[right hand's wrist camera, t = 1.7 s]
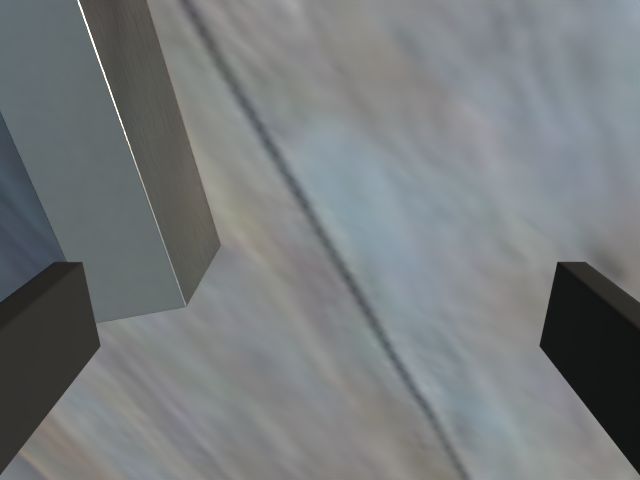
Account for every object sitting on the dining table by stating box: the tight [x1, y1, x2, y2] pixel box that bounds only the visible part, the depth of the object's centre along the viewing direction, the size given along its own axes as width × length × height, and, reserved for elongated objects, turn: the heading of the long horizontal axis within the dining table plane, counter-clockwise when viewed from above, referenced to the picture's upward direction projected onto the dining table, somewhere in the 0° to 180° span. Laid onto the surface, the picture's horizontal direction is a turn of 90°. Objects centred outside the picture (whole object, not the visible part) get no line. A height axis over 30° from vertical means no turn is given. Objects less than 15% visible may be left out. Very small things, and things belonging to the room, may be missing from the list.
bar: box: [0, 0, 220, 323], centre depth 23 cm, size 26×5×9 cm, turn 11°
